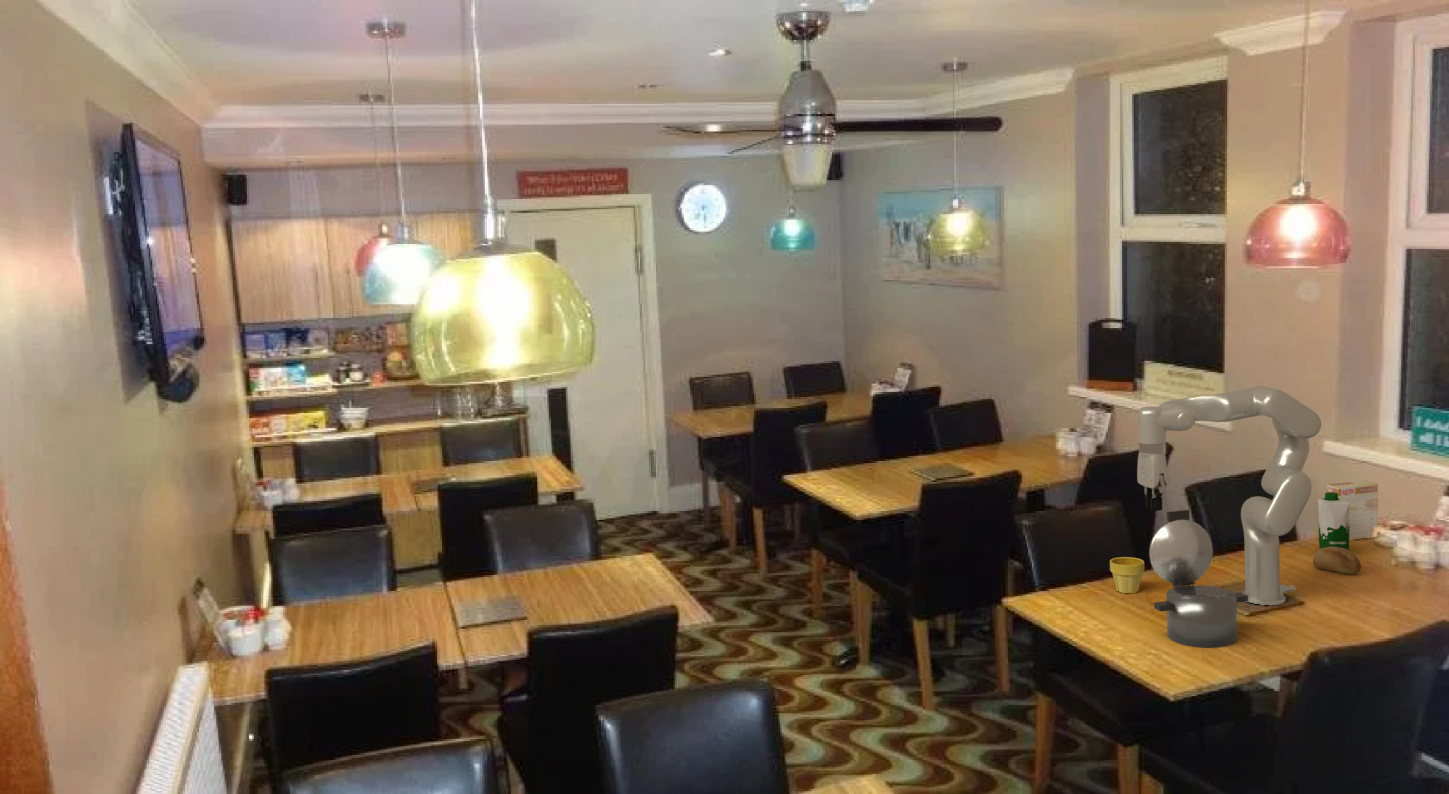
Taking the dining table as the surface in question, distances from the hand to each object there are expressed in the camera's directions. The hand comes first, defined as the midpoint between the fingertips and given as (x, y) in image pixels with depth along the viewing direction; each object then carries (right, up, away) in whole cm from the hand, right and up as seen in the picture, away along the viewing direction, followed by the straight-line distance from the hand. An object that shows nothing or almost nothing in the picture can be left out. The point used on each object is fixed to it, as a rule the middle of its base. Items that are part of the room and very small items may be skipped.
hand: (1153, 508), depth 337 cm
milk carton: (+80, -20, +48) cm, 95 cm away
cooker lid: (+3, -10, -14) cm, 18 cm away
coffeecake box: (+95, -17, +64) cm, 116 cm away
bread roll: (+69, -23, +28) cm, 79 cm away
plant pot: (+1, -29, +24) cm, 37 cm away
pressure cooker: (+5, -34, -21) cm, 40 cm away
